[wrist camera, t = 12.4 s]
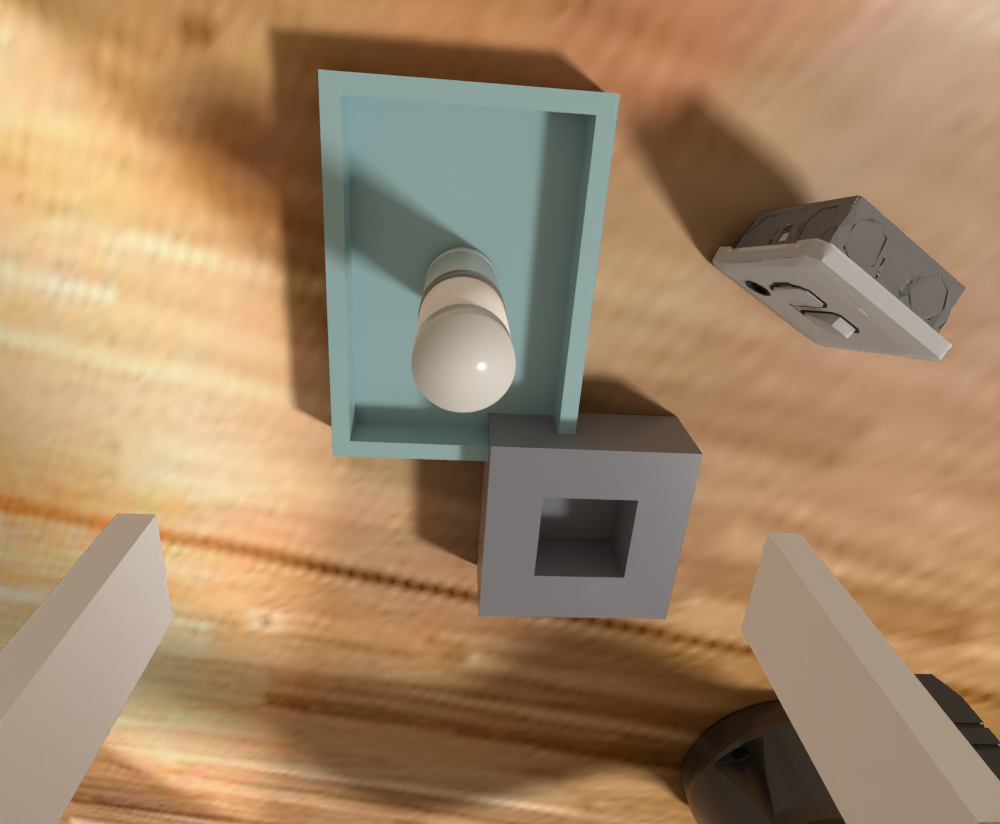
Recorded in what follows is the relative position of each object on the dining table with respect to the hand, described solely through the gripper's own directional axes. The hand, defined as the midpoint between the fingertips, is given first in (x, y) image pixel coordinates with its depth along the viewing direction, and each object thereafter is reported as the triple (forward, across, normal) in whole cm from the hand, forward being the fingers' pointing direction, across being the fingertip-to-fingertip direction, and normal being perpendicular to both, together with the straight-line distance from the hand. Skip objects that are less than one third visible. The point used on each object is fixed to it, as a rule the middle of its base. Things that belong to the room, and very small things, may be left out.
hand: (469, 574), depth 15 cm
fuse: (+25, 0, 0) cm, 25 cm away
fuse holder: (+26, -8, +14) cm, 30 cm away
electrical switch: (+26, -19, -2) cm, 32 cm away
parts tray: (+26, 0, 0) cm, 26 cm away
